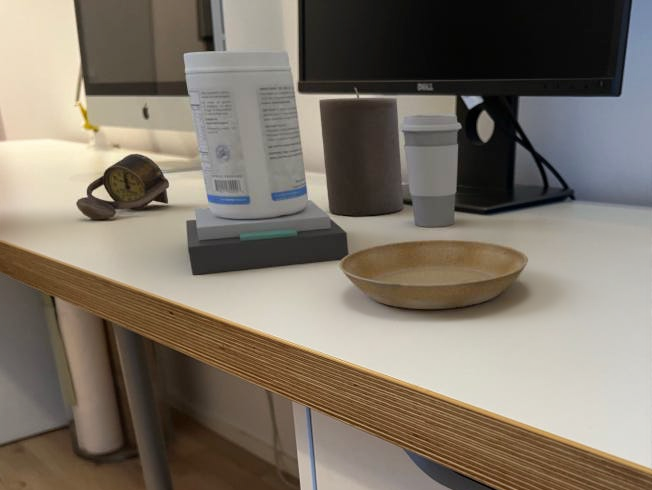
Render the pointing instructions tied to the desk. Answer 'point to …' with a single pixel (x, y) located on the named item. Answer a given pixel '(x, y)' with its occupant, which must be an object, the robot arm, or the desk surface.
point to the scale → (263, 240)
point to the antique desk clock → (126, 187)
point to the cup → (432, 166)
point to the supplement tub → (247, 132)
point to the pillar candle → (362, 155)
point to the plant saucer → (433, 272)
